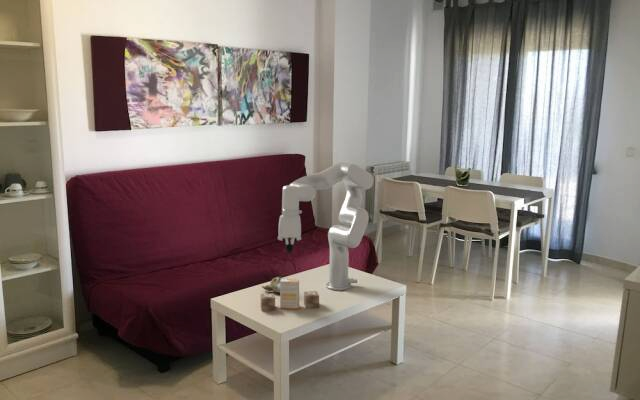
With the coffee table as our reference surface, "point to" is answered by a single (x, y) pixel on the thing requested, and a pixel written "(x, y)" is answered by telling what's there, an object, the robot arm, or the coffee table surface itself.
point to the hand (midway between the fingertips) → (289, 252)
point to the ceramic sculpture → (274, 285)
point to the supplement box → (289, 293)
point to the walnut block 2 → (311, 299)
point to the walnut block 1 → (268, 302)
